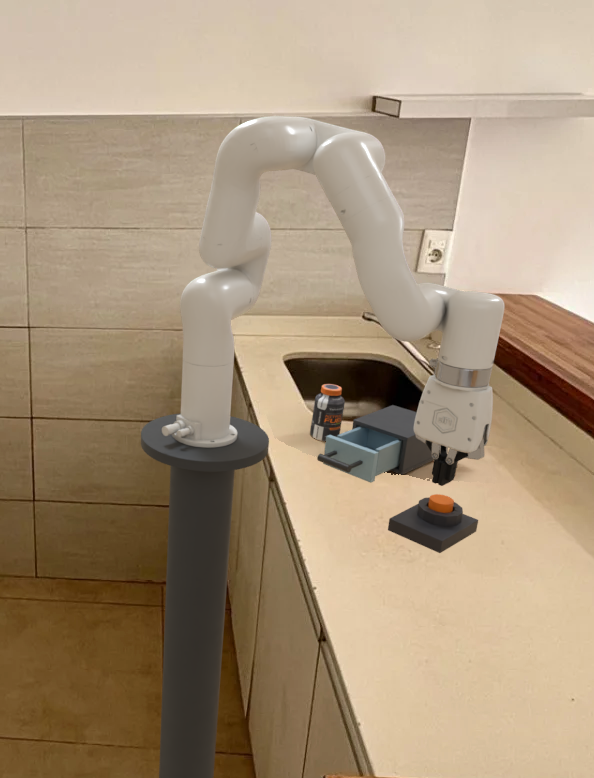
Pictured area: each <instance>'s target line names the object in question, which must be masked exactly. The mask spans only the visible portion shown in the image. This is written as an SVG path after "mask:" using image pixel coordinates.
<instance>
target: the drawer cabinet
mask: <svg viewBox="0 0 594 778" xmlns="http://www.w3.org/2000/svg"><path fill="white" fill-rule="evenodd" d="M416 413H417V411H414V410H411V409H407V408H404V407H401V406H397V405H394V404H392V405H388V406H387V407H384V408H381V409H378V410H376V411H373V412H371V413H367V414H365V415H363V416H360V417H357V418H354V419H353V420H352V429H355V428H357V427H360V426H362V427H365V428H368V429H371V430H374V431H377V432H380V433H383V434H386V435H389V436H392V437H395V438H397V439H400V440H403V446H402V453H401V459H400V465H399V466H397V467H395V468H393V469H391V470H389V471H391V472H393V473H396V474H399V475H401V476H402V475H405V474H408V473H409V472H411V471H414V470H416V469H417V468H418V469H419V467H422V466H424V465H426V464H428V463H431V462H434V459H433V458H432V455H431V453H432V452H431V451H430V449H429V448H428V446H427V444H426V443H424V442H422V441H420V440H419V439H417V438H416V436H415V435H416V434H415V433H414V422H415V417H416ZM352 429H351V430H352Z"/></svg>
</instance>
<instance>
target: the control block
mask: <svg viewBox="0 0 594 778" xmlns="http://www.w3.org/2000/svg"><path fill="white" fill-rule="evenodd" d="M429 499H430V496H429V497H423V498H421V499H420V500H418V503H417V504H415V505H413V506H411V507H409V508H407V509H405V510H402V511H401V512H399V513H398V514H395V515H393V516H392V517H390V518H389V519H388V525H387V526H388V527H387V531H389V532H391V533H393V534H396V535H398V536H400V537H401V538H404V539H406V540H409V541H411V542H413V543H416V544H418V545H420V546H423V547H425V548H426V549H429V550H431V551H434V552H435V553H439V554H442V553H443V552H445V551H447V550H448V549H449V548H452V547H453V546H455V545H456V544H458V543H459V542H461V541H463V540H464V539H466V538H469V537H470V536H471V535H473V534H475V533H476V532H477V530H478V529H477V528H478V525H479V519H477V518H474V517H472V516H470V515H467V514H464V511H463V507H462V506H461V505H460V504H458V503H457V502H456V501H454V505H453V510H452V512H451V513H442V512H437V511H434V510H432V509H430V508H429V507H428V504H429Z"/></svg>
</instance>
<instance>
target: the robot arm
mask: <svg viewBox="0 0 594 778" xmlns="http://www.w3.org/2000/svg"><path fill="white" fill-rule="evenodd" d="M220 143H221V144H220V146H219V147H218V150H217V153H216V157H215V161H214V167H213V174H212V179H211V185H210V190H209V195H208V198H207V203H206V208H205V212H204V216H203V222H202V226H201V230H200V236H199V242H198V252H199V256H200V258H201V260H202V262H203V263H204V264H205V265H206V266H208V267H210V268H213V269H216V270H215V271H211V272H208V273H204V274H201V275H199V276H197V277H195V278H193V279H192V280H191V281H190V282H189V283H187V285H186V286H185V287H184V289H183V291H182V293H181V295H180V301H179V312H180V319H181V326H182V327H181V328H182V366H181V367H182V368H181V369H182V371H181V390H180V391H181V392H180V394H181V396H180V413H181V414H180V413H179V414H180V415H177V419H176V421H175V422H174V423H173V424H170V425H167V426H164V427H162V433H163V435H164V436H169V435H172V436H173V438H175V439H176V440H177V441H179V442H181V443H183V444H186V445H189V446H194V447H201V448H216V447H223V446H227V445H229V444H231V443H233V442H234V441H236V439H237V430H236V429H235V428H234V427H233V426H232V425H230V416H231V412H232V397H233V381H234V367H235V365H234V364H235V340H234V333H233V329H232V320H234V319H237V318H239V317H241V316H243V315H245V314H247V313H248V312H249V311H251V310H252V309H253V308H254V306H255V305H256V303H257V301H258V300H259V296H260V292H261V289H262V286H263V281H264V277H265V274H266V269H267V265H268V261H269V257H270V253H271V249H272V241H273V240H272V231H271V230H272V229H271V226H270V224H269V222H268V220H267V219H266V217H264V216H263V214H262V213H260V212H258V211H257V209H258V206H259V202H260V197H261V176H262V174H264V173H267V172H277V171H278V172H279V171H287V170H296V171H300V172H305V173H307V174H311V175H314V176H315V177H316V179H317V181H318V183H319V185H320V186H321V189H322V190H323V192H324V194H325V196H326V198H327V200H328V202H329V203H330V205H331V208H332V209H333V210H334V213H335V215H336V216H337V218H338V220H339V222H340V224H341V227H342V228H343V231H344V232H345V234H346V235H347V236H346V237H347V238H348V240H349V242H350V245H351V252H352V258H353V262H354V266H355V270H356V275H357V278H358V281H359V284H360V287H361V291H362V292H363V294H364V297H365V298H366V300H367V302H368V304H369V307H370V308H371V310H372V312H373V314H374V316H375V318H376V320H377V321H378V323H379V324H380V326H381V327H382V329H383V330H384V331H385V332H386V333H387V335H389V336H391V337H392V338H393V339H395V340H397V341H399V342H400V341H401V342H406V343H411V342H417V341H420V340H422V339H424V338H425V337H427V336H428V335H430V334H432V333H433V332H434V333H435V332H437V331H439V332H441V333H442V334H441V341H440V344H439V345H440V346H439V350H438V351H439V352H438V357H437V358H433V357H432V358H430V360H429V362H428V367H431V368H433V369H434V372H433V375H429V377H428V379H427V381H426V383H425V386H424V388H423V390H422V393H421V396H420V400H419V402H418V406H417V410H416V412H417V413H416V417H415V422H414V433H415V434H416V435H415V436H416V438H417V439H419V440H420V441H422V442H424V443H426V444H427V446H428V448H429V449H430V451H431V452H432V453H431V455H432V458H433V459H434V460H433V464H432V469H431V475H432V479H431V483H433V484H438V486H440V487H444V486H445V485H447V484H449V483H451V482H452V481H454V479H455V478H456V472H457V468H458V467H457V466H458V463H459V462H460V461H461V460H463V459H468V460H481V459H483V458H484V457H485V456H486V455H485V454H486V453H485V446H487V444H488V442H489V438H490V434H491V427H492V421H493V420H492V419H493V411H494V409H493V407H494V394H493V391H494V390H493V387H492V386H491V385H490V381H491V377H492V371H493V367H494V363H495V356H496V352H497V346H498V342H499V337H500V333H501V327H502V323H503V318H504V313H505V308H506V307H505V305H506V304H505V301H504V300H503V298H502V297H500V296H499V295H496V294H494V293H490V292H484V291H476V290H475V291H474V290H471V291H470V290H461V289H456V288H452V287H449V286H445V285H442V284H438V283H435V282H420V283H418V282H417V281H416V278H415V276H414V275H413V272H412V270H411V269H410V266H409V264H408V261H407V257H406V254H405V249H404V242H403V241H404V233H405V215H404V214H405V213H404V211H403V210H402V207H401V206H400V204H399V202H398V200H397V198H396V197H395V195H394V194H393V191H392V189H391V188H390V186H389V184H388V182H387V180H386V178H385V176H384V175H383V171H384V168H385V165H386V151H385V148H384V146H383V144H382V142H381V141H380V140H379V138H377V137H376V136H374V135H372V134H371V133H369V132H364V131H361V130H360V131H359V130H356V129H351V128H349V127H348V128H347V127H343V126H339V125H336V124H332V123H328V122H325V121H321V120H318V119H313V118H309V117H304V116H285V115H270V116H262V117H258V118H257V117H256V118H254V119H250V120H248V121H244V122H242V123H241V124H239V125H237V126H236V127H234V128H233V129H232V130H230V132H228V134H227V135H226V136H225V137H224V138H223V140H222V142H220Z"/></svg>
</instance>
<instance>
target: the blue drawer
mask: <svg viewBox="0 0 594 778" xmlns="http://www.w3.org/2000/svg"><path fill="white" fill-rule="evenodd" d="M402 446H403V440H400V439H397V438H395V437H392V436H389V435H386V434H383V433H380V432H377V431H374V430H371V429H368V428H365V427H362V426H360V427H357V428H355V429H350V430H349V429H348V430H347V431H344V432H342V433H340V434H339V435H337V437H335V436H332V435H328V436H326V442H325V444H324V452H323V453H319V454H318V455H317V457H316V460H317V462H320V463H322V464H323V465H325V466H327V467H330V468H333V469H334V470H337V471H339V472H342V473H345V474H348V475H349V476H353V477H355V478H358V479H360V480H362V481H365V482H368V483H370V484H372V483H374V482H375V480H376V477H377V476H380V475H382V474H384V473H387V472H389V471H390V470H391V469H393V468H395V467H397V466H399V465H400V459H401V453H402Z"/></svg>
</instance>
